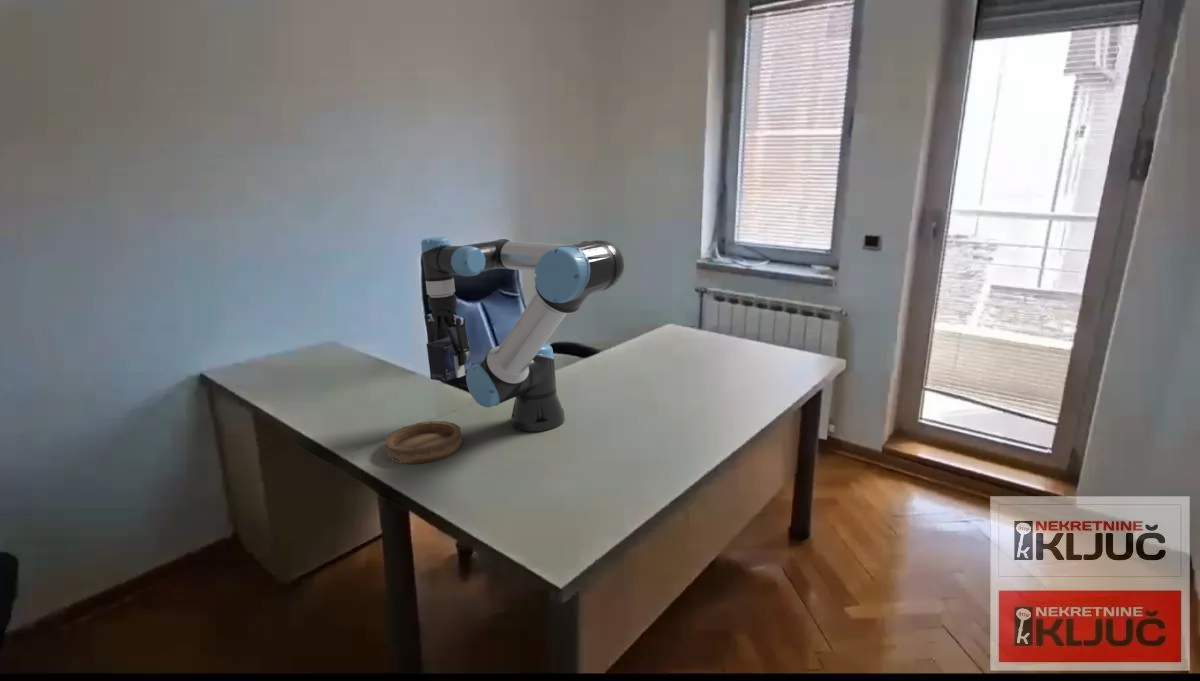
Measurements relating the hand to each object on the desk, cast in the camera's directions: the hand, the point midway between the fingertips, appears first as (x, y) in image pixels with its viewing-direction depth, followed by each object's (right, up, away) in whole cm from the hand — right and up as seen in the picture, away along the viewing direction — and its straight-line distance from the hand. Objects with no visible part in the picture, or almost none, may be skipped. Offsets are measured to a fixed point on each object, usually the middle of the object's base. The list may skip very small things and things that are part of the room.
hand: (451, 374), depth 175 cm
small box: (0, -1, 0) cm, 1 cm away
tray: (-4, -19, -11) cm, 22 cm away
